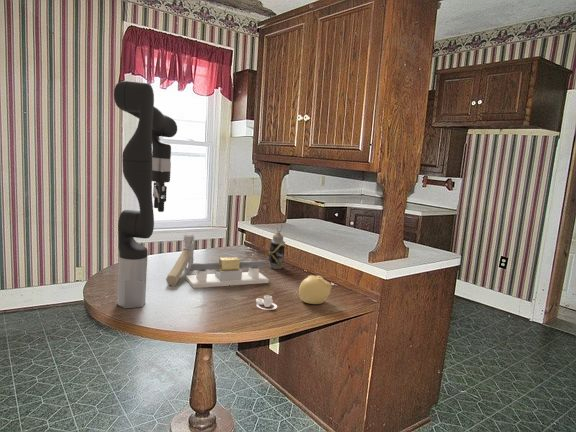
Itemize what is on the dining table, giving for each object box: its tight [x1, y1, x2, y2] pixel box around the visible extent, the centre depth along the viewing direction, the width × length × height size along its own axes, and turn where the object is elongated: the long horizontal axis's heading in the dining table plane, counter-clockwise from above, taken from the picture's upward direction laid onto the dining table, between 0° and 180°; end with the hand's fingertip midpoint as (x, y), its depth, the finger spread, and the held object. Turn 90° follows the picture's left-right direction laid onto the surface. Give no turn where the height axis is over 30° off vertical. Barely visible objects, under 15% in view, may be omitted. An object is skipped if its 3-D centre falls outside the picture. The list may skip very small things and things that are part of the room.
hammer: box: [165, 233, 195, 286], centre depth 181 cm, size 16×5×30 cm
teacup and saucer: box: [255, 294, 278, 311], centre depth 156 cm, size 9×8×4 cm
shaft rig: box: [185, 260, 270, 289], centre depth 180 cm, size 12×34×8 cm, turn 118°
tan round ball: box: [298, 274, 332, 305], centre depth 164 cm, size 11×12×11 cm
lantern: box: [267, 218, 287, 270], centre depth 207 cm, size 9×8×25 cm
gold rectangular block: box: [218, 256, 241, 272], centre depth 179 cm, size 4×8×6 cm, turn 118°
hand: (158, 209), depth 166 cm, fingers open, 8 cm apart
